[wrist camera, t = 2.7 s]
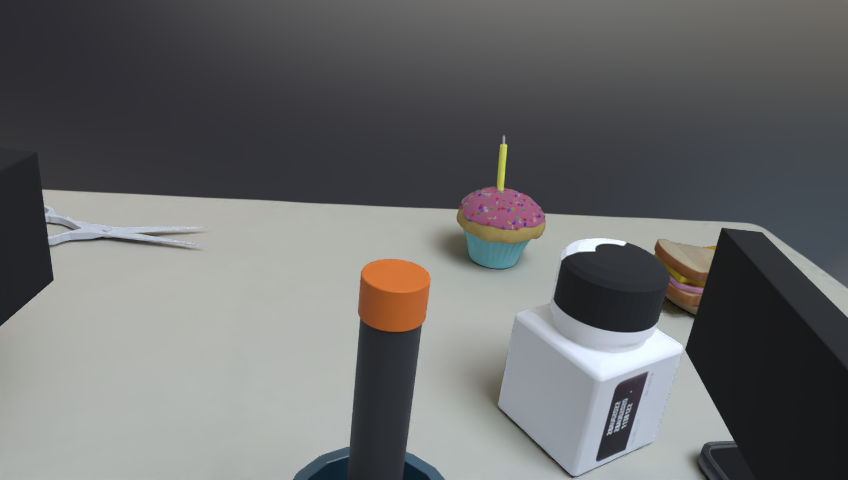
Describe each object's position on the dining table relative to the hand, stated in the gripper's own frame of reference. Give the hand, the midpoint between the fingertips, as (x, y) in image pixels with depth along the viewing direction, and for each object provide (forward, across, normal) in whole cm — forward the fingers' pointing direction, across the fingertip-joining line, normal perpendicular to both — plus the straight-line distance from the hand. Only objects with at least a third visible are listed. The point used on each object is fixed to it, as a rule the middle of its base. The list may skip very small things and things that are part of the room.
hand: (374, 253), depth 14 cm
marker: (+9, 0, -23) cm, 25 cm away
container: (+26, +12, -24) cm, 38 cm away
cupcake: (+51, +8, -24) cm, 56 cm away
